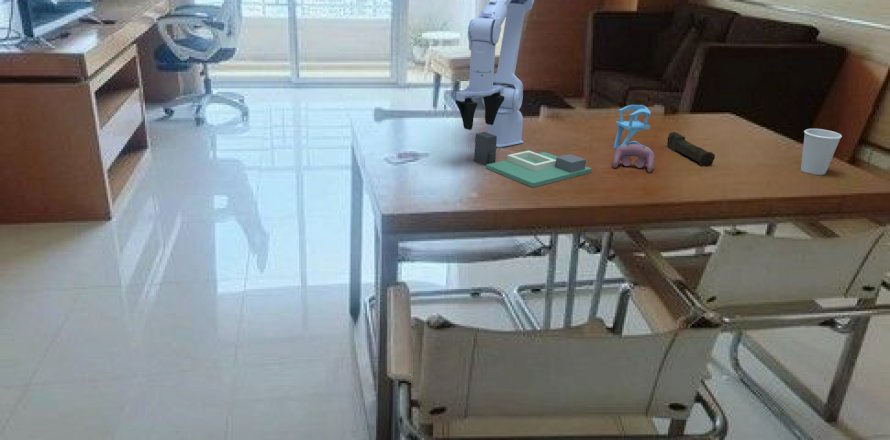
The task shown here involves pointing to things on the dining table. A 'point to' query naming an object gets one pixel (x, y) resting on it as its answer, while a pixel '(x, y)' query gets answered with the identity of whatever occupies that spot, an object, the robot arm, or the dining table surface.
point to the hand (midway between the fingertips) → (478, 126)
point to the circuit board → (539, 167)
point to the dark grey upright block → (485, 148)
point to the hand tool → (689, 149)
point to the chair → (631, 124)
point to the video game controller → (634, 150)
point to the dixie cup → (818, 150)
